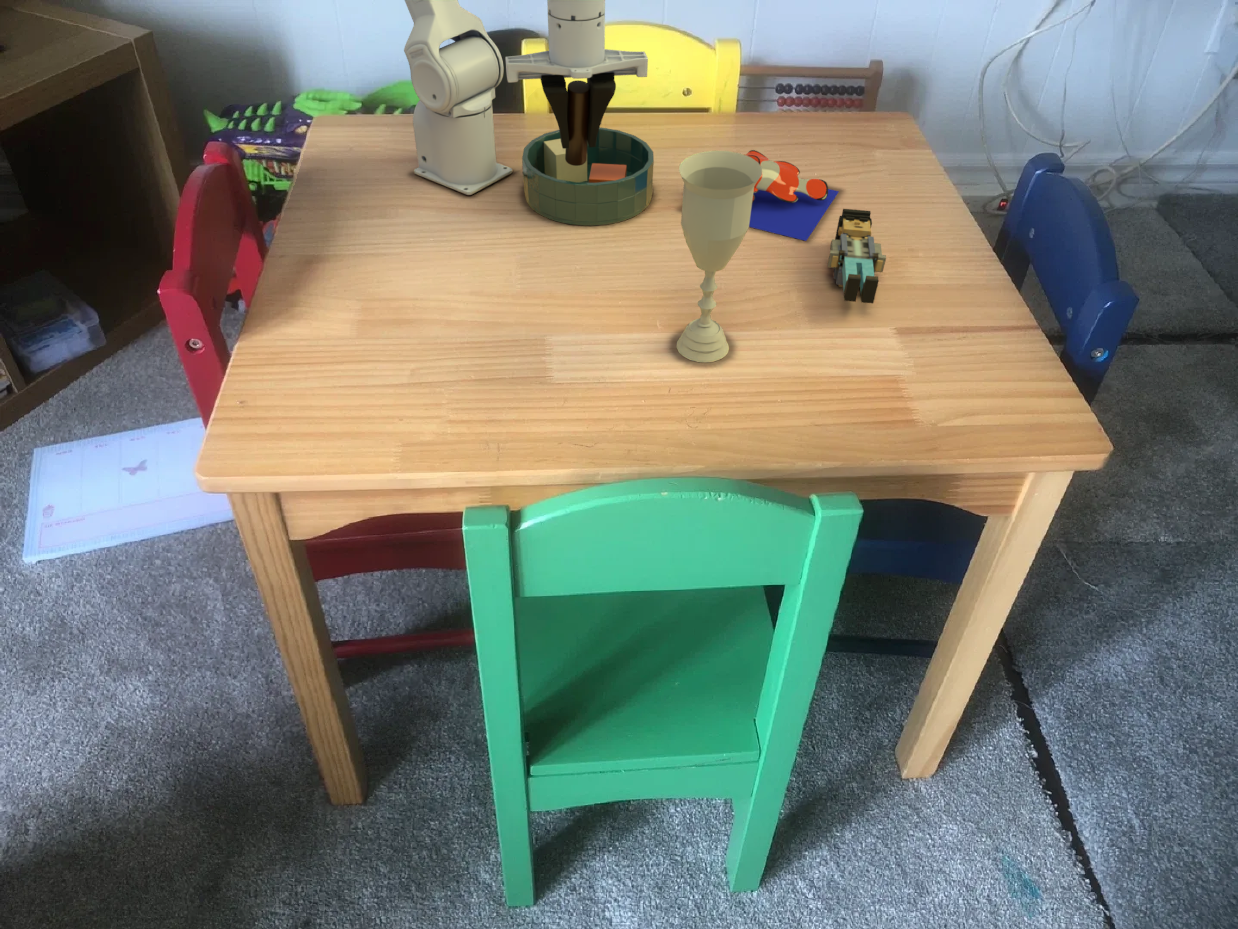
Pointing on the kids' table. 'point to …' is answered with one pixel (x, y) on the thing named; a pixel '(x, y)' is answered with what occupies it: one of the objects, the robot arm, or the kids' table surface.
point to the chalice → (713, 234)
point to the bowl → (591, 199)
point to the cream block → (561, 163)
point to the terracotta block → (606, 172)
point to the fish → (787, 199)
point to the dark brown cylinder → (577, 122)
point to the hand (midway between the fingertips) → (577, 143)
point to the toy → (856, 256)
